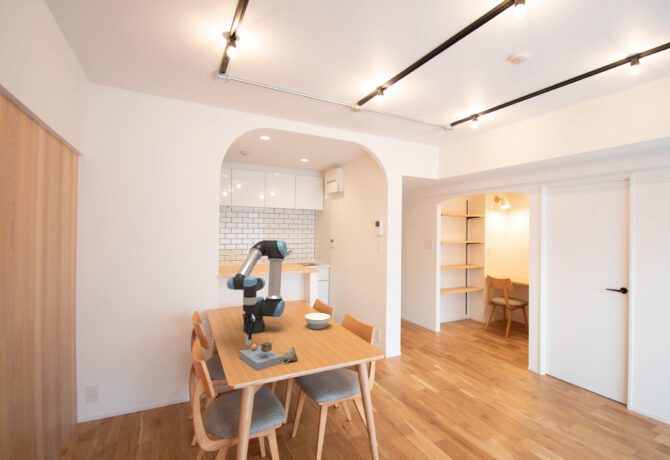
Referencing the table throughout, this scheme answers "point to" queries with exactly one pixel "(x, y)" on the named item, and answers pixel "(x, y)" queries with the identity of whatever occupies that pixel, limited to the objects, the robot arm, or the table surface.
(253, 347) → the ball
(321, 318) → the bowl
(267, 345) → the walnut cube
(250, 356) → the grey flat block
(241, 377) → the table surface
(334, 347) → the table surface
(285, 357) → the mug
